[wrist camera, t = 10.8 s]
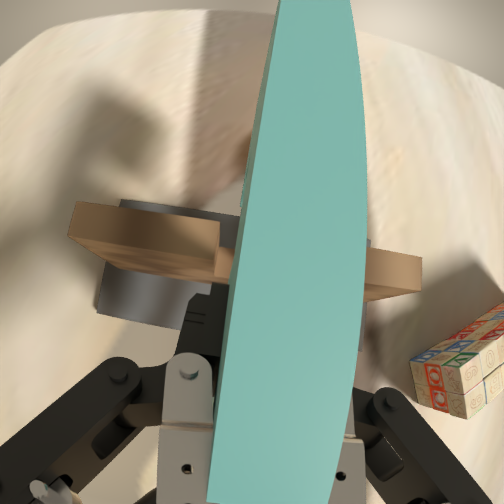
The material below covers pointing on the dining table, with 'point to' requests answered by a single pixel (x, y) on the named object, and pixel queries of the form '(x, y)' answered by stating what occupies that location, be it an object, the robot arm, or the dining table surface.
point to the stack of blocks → (463, 368)
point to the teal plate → (295, 269)
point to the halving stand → (191, 260)
